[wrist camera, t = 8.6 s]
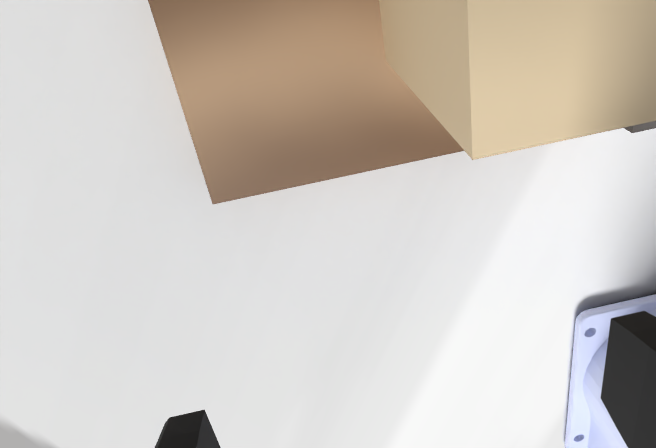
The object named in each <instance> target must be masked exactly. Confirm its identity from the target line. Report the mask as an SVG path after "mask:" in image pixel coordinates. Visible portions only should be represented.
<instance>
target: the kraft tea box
mask: <svg viewBox="0 0 656 448" xmlns="http://www.w3.org/2000/svg"><path fill="white" fill-rule="evenodd" d="M379 4H380V13H381V21H382V30H383V39H384V48H385V57H386V62H387V63H388V64H389V65H390V66H391V67H392V68H393V70H394V71H395V72H396V73H397V74H398V75H399V76H400V78H401V79H402V80H403V81H404V82H405V83H406V84H407V86H408V87H409V88H410V89H411V90H412V91H413V92H414V94H415V95H416V96H417V97H418V98H419V99H420V100H421V102H422V103H423V104H424V105H425V106H426V107H427V108H428V109H429V111H430V112H431V113H432V114H433V115H434V116H435V117H436V119H437V120H438V121H439V122H440V123H441V124H442V125H443V127H444V128H445V129H446V130H447V131H448V132H449V133H450V135H451V136H452V137H453V138H454V139H455V140H456V141H457V143H458V144H459V145H460V146H461V147H462V148H463V149H464V151H465V152H466V153H467V154H468V155H469V156H470V157H471V159H472V160H475V159H479V158H484V157H489V156H493V155H498V154H503V153H507V152H512V151H517V150H521V149H526V148H531V147H535V146H540V145H545V144H549V143H554V142H559V141H563V140H568V139H573V138H577V137H582V136H587V135H591V134H596V133H601V132H605V131H610V130H615V129H619V128H624V127H629V126H633V125H638V124H643V123H647V122H652V121H656V0H379Z"/></svg>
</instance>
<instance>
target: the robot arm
mask: <svg viewBox="0 0 656 448" xmlns="http://www.w3.org/2000/svg"><path fill="white" fill-rule="evenodd" d="M587 329H588V330H587ZM155 448H220V446H219V443H218V441H217V438H216V436H215V434H214V431H213V429H212V426H211V424H210V422H209V419H208V417H207V415H206V412H205V410H201V411H197V412H192V413H188V414H183V415H179V416H175V417H170V418H169V419H168V420H167V422H166V423H165V425H164V427H163V430H162V432H161V434H160V437H159V439H158V442H157V444H156V446H155ZM565 448H656V294H655V295H650V296H646V297H641V298H637V299H632V300H628V301H623V302H619V303H614V304H610V305H606V306H601V307H597V308H592V309H588V310H585V311H583V312H581V313H580V314H579V315H578V316H577V318H576V322H575V334H574V345H573V357H572V368H571V380H570V391H569V403H568V414H567V426H566V437H565Z"/></svg>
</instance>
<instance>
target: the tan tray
mask: <svg viewBox="0 0 656 448" xmlns="http://www.w3.org/2000/svg"><path fill="white" fill-rule="evenodd" d="M148 1H149V5H150V8H151V11H152V14H153V17H154V20H155V24H156V27H157V30H158V33H159V36H160V39H161V42H162V46H163V49H164V52H165V55H166V58H167V61H168V65H169V68H170V71H171V74H172V77H173V80H174V83H175V87H176V90H177V93H178V96H179V99H180V102H181V106H182V109H183V112H184V115H185V118H186V121H187V124H188V128H189V131H190V134H191V137H192V140H193V143H194V147H195V150H196V153H197V156H198V159H199V162H200V165H201V169H202V172H203V175H204V178H205V181H206V184H207V188H208V191H209V194H210V197H211V200H212V203H213V204H217V203H221V202H226V201H231V200H235V199H240V198H245V197H249V196H254V195H259V194H264V193H268V192H273V191H278V190H282V189H287V188H292V187H296V186H301V185H306V184H310V183H315V182H320V181H324V180H329V179H334V178H338V177H343V176H348V175H352V174H357V173H362V172H366V171H371V170H376V169H381V168H385V167H390V166H395V165H399V164H404V163H409V162H413V161H418V160H423V159H427V158H432V157H437V156H441V155H446V154H451V153H455V152H460V151H464V149H463V148H462V147H461V146H460V145H459V144H458V143H457V141H456V140H455V139H454V138H453V137H452V136H451V135H450V133H449V132H448V131H447V130H446V129H445V128H444V127H443V125H442V124H441V123H440V122H439V121H438V120H437V119H436V117H435V116H434V115H433V114H432V113H431V112H430V111H429V109H428V108H427V107H426V106H425V105H424V104H423V103H422V102H421V100H420V99H419V98H418V97H417V96H416V95H415V94H414V92H413V91H412V90H411V89H410V88H409V87H408V86H407V84H406V83H405V82H404V81H403V80H402V79H401V78H400V76H399V75H398V74H397V73H396V72H395V71H394V70H393V68H392V67H391V66H390V65H389V64H388V63H387V62H386V57H385V48H384V39H383V30H382V21H381V13H380V4H379V0H148ZM624 128H625V129H626V130H628V131H630V132H631V133H635V132H640V131H644V130H649V129H654V128H656V121H652V122H647V123H643V124H638V125H633V126H629V127H624Z"/></svg>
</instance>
